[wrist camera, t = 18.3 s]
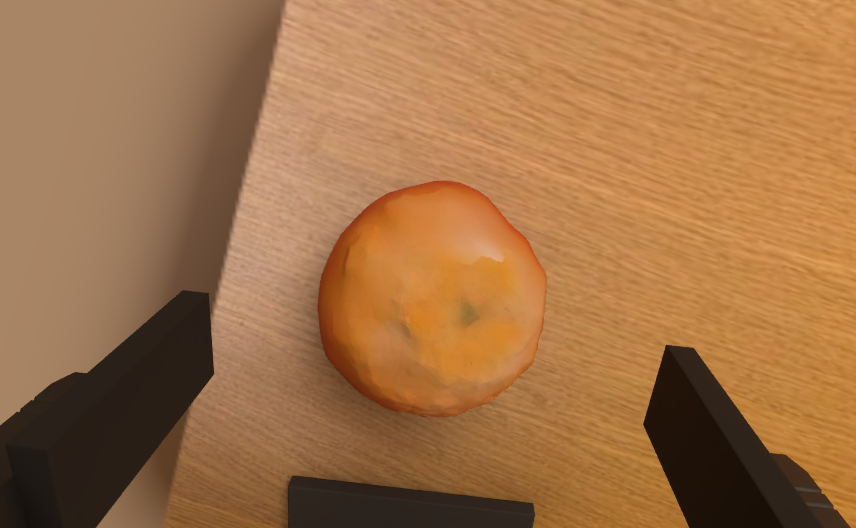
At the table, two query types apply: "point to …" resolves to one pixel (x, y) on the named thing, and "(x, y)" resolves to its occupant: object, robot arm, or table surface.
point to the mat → (396, 507)
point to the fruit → (431, 301)
